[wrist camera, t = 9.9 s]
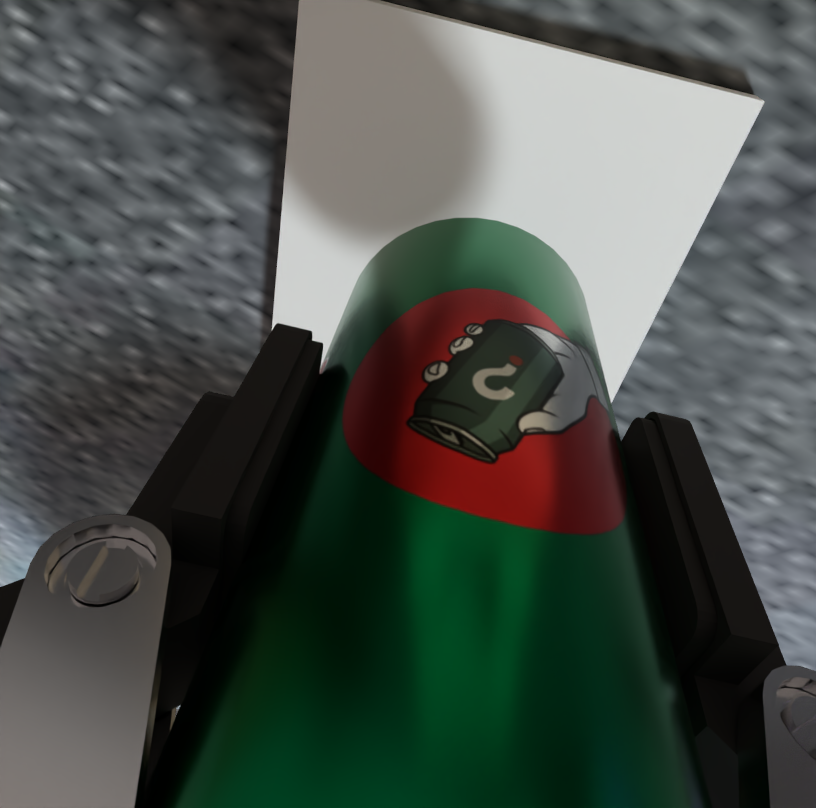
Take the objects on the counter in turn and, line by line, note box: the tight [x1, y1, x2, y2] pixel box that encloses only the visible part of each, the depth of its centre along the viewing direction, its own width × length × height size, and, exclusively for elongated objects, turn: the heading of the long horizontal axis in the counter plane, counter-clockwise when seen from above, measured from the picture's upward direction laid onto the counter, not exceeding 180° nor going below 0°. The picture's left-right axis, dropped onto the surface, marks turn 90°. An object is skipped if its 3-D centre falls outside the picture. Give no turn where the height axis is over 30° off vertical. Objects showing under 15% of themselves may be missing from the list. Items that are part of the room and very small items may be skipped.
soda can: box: [142, 218, 712, 808], centre depth 9 cm, size 5×5×12 cm
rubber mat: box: [272, 0, 765, 403], centre depth 16 cm, size 10×10×1 cm
